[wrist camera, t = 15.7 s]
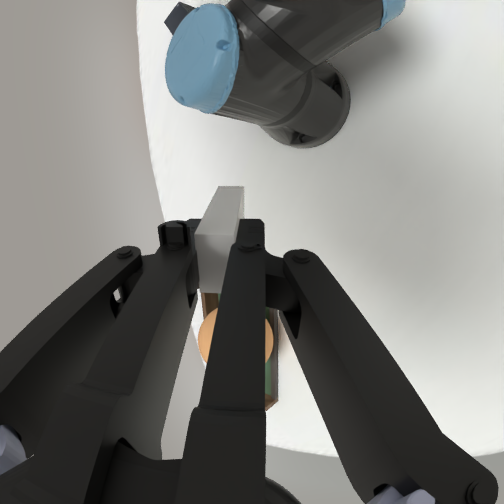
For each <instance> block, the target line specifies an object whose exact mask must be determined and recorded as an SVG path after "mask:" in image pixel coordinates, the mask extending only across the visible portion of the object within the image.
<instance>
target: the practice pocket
mask: <svg viewBox="0 0 504 504" xmlns="http://www.w3.org/2000/svg"><path fill="white" fill-rule="evenodd" d="M197 289H199V284H198V287H197ZM220 295H221V293H201V298H202V308H203V317H204V319H205V318H206V317H207V316H208V315H209V314H210V313H211V312H212V311H213V310H215V309H217V308H218V305H219V300H220ZM266 320H267V321H268V323H269V324H270V327H271V329H272V333H273V348H272V352H271V354H270V357H269V359H268V360H267V362H266V363H265V410H266V411H267V410H268V409H269V408H271V407H272V406H273V405H274V404H275V403H276V402H277V401H278V326H277V309H273V308H269V307H266Z"/></svg>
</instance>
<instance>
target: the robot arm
mask: <svg viewBox="0 0 504 504" xmlns="http://www.w3.org/2000/svg"><path fill="white" fill-rule="evenodd" d="M404 7H405V0H231V1H230V2H229V3H228V4H227V5H225V6H224V5H221V4H212V3H209V4H204V5H201V6H200V7H197V8H195V9H194V10H192V11H191V12H190V13H189V14H188V15H187V16H186V17H185V18H184V19H183V20H182V22H181V23H180V24H179V26H178V28H177V29H176V31H175V33H174V35H173V37H172V39H171V42H170V45H169V48H168V51H167V57H166V63H165V78H166V83H167V87H168V89H169V92H170V93H171V95H172V97H173V98H174V99H175V100H176V101H177V102H178V103H180V104H182V105H184V106H187V107H190V108H194V109H197V110H200V111H201V112H203V113H208V114H209V113H210V114H215V115H219V116H224V117H228V118H233V119H237V120H241V121H246V122H250V123H254V124H258V125H259V126H260V127H261V128H262V129H263V130H264V131H265V132H266V133H268V134H269V135H270V136H271V137H272V138H273V139H275V140H276V141H278V142H280V143H282V144H285V145H288V146H292V147H296V148H310V147H315V146H318V145H320V144H322V143H324V142H326V141H328V140H329V139H331V138H332V137H333V136H334V135H335V134H336V133H337V132H338V131H339V130H340V128H341V127H342V126H343V124H344V122H345V120H346V118H347V115H348V112H349V107H350V93H349V89H348V86H347V83H346V81H345V79H344V78H343V76H342V75H341V74H340V73H339V72H338V71H337V70H336V69H335V68H334V67H333V66H332V65H330V64H329V63H327V62H326V60H327V59H329V58H330V57H332V56H333V55H335V54H336V53H338V52H340V51H341V50H343V49H344V48H346V47H347V46H349V45H351V44H352V43H354V42H355V41H357V40H359V39H360V38H362V37H364V36H365V35H367V34H369V33H371V32H372V31H377V30H380V29H381V27H383V26H384V25H385V23H387V22H389V21H390V20H392V19H393V18H395V17H397V16H398V15H400V13H401V12H402V11H403V9H404ZM158 234H159V240H160V247H159V249H158V250H157V252H156V253H155V254H151V255H145V256H142V255H141V251H140V249H139V248H138V247H135V246H123V247H121V248H119V249H117V250H115V251H113V252H112V253H111V254H109V255H108V256H107V257H106V258H104V259H103V260H102V261H101V262H99V263H98V264H97V265H96V266H94V267H93V268H92V269H91V270H89V271H88V272H87V273H86V274H84V275H83V276H82V277H81V278H80V279H79V280H77V281H76V282H75V283H74V284H73V285H71V286H70V287H69V288H68V289H67V290H66V291H64V292H63V293H62V294H61V295H60V296H59V297H58V298H56V299H55V300H54V301H53V302H52V303H51V304H50V305H49V306H47V307H46V308H45V309H44V310H43V311H42V312H41V313H40V314H39V315H38V316H37V317H35V318H34V319H33V320H32V321H31V322H30V323H29V324H28V325H27V326H26V327H25V328H24V329H23V330H22V331H21V332H20V333H19V334H18V335H17V336H16V337H15V338H14V339H13V340H12V341H11V342H10V343H9V344H8V345H7V346H6V347H5V348H4V349H3V350H2V351H1V352H0V504H301V503H300V502H299V501H298V500H297V499H296V498H295V497H294V496H293V495H292V494H291V493H290V492H289V491H288V490H286V489H285V488H284V487H283V486H281V485H280V484H278V483H276V482H275V481H273V480H271V479H269V478H267V477H265V463H266V458H265V457H266V412H265V337H266V307H269V308H273V309H277V310H279V316H280V318H281V321H282V323H283V325H284V328H285V330H286V333H287V335H288V337H289V340H290V342H291V344H292V347H293V349H294V351H295V354H296V356H297V358H298V361H299V363H300V366H301V368H302V370H303V373H304V375H305V377H306V380H307V382H308V384H309V387H310V389H311V391H312V394H313V396H314V399H315V401H316V403H317V406H318V408H319V410H320V413H321V415H322V417H323V420H324V422H325V425H326V427H327V429H328V432H329V434H330V436H331V439H332V441H333V443H334V446H335V448H336V450H337V453H338V455H339V458H340V460H341V462H342V465H343V467H344V469H345V472H346V474H347V476H348V478H349V480H350V482H351V484H352V486H353V488H354V489H355V491H356V492H357V494H358V495H359V497H360V498H361V500H362V501H363V502H364V503H365V504H495V502H496V500H497V497H498V483H497V480H496V478H495V477H494V475H493V474H492V473H491V472H490V471H489V470H488V469H486V468H485V467H484V466H483V465H481V464H480V463H479V462H478V461H476V460H475V459H474V458H473V457H471V456H470V455H469V454H468V453H466V452H465V451H464V450H463V449H462V448H460V447H459V446H458V445H457V444H455V443H454V442H453V441H452V440H450V439H449V438H448V437H447V436H446V435H444V434H443V433H442V432H441V430H440V429H439V427H438V425H437V424H436V422H435V420H434V419H433V417H432V416H431V414H430V413H429V411H428V409H427V408H426V406H425V405H424V403H423V402H422V400H421V398H420V397H419V395H418V394H417V392H416V391H415V389H414V388H413V386H412V385H411V383H410V382H409V380H408V379H407V377H406V376H405V374H404V373H403V371H402V370H401V368H400V367H399V366H398V364H397V363H396V361H395V360H394V358H393V357H392V355H391V354H390V353H389V351H388V350H387V348H386V347H385V345H384V344H383V343H382V341H381V340H380V338H379V337H378V336H377V334H376V333H375V331H374V330H373V329H372V327H371V326H370V324H369V323H368V322H367V320H366V319H365V318H364V316H363V315H362V313H361V312H360V311H359V309H358V308H357V307H356V305H355V304H354V303H353V301H352V300H351V299H350V297H349V296H348V295H347V293H346V292H345V291H344V289H343V288H342V287H341V285H340V284H339V283H338V281H337V280H336V279H335V278H334V276H333V275H332V274H331V272H330V271H329V270H328V269H327V267H326V266H325V265H324V263H323V262H322V261H321V260H320V258H319V257H318V256H317V255H316V254H315V253H313V252H310V251H308V250H304V249H299V250H296V249H295V250H291V251H288V252H286V253H285V255H284V256H283V258H280V257H276V256H273V255H271V254H269V253H268V252H267V251H266V250H265V234H264V223H263V222H262V221H261V220H260V219H244V187H239V186H219V187H218V189H217V191H216V192H215V194H214V196H213V198H212V200H211V202H210V204H209V206H208V208H207V210H206V212H205V214H204V216H203V218H202V219H189V220H187V221H180V220H175V221H169V222H165V223H163V224H161V225H159V226H158ZM198 284H199V288H200V292H201V293H221V295H220V300H219V305H218V310H217V315H216V320H215V325H214V330H213V335H212V340H211V345H210V350H209V355H208V360H207V365H206V371H205V376H204V381H203V386H202V392H201V397H200V402H199V405H198V407H195V408H194V409H193V411H192V413H191V417H190V421H189V426H188V431H187V436H186V442H185V448H184V452H183V458H182V459H175V460H174V459H173V460H162V451H161V436H162V432H163V428H164V424H165V420H166V415H167V411H168V407H169V403H170V399H171V395H172V391H173V387H174V384H175V379H176V376H177V372H178V368H179V364H180V361H181V357H182V353H183V350H184V346H185V342H186V339H187V335H188V332H189V328H190V325H191V321H192V318H193V314H194V311H195V307H196V304H197V300H198V295H197V287H198ZM117 289H118V290H119V293H120V297H121V298H120V299H119V300H117V301H116V300H115V297H114V294H113V293H114V291H115V290H117ZM33 454H34V456H32V455H33ZM31 456H32V457H31ZM28 458H29V459H28Z"/></svg>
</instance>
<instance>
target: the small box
mask: <svg viewBox="0 0 504 504" xmlns="http://www.w3.org/2000/svg"><path fill="white" fill-rule="evenodd" d="M194 9H195V8H194V7H192V6H189V5H187V4H184V3H181V2H178V4H177V5H176V6H175V8H174V9H173V10H172V12H171V13H170V15H169V16H168V17H167V19H166V20H165V21H164V23H165V24H166V26H167V27H168V29H169V30H170V32H171V33H172V35H174V33H175V31H176V29H177V28H178V26H179V24H180V23H181V22H182V20H183V19H184V18H185V17H186V16H187V15H188V14H189V13H190V12H191V11H192V10H194Z"/></svg>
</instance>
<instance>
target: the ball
mask: <svg viewBox="0 0 504 504" xmlns="http://www.w3.org/2000/svg"><path fill="white" fill-rule="evenodd" d="M217 310H218V308H217V309H215V310H213V311H212V312H211V313H210V314H209V315H208V316H207V317H206V318H205V319H204V321H203V323H202V325H201V327H200V330H199V334H198V345H199V350H200V353H201V355H202V357H203V359H204V361H205V362H206V363H207V360H208V355H209V350H210V345H211V340H212V335H213V330H214V325H215V320H216V315H217ZM272 348H273V333H272V329H271V327H270V324H269V323H268V321H267V320H266V337H265V363H266V362H267V360H268V359H269V357H270V354H271V352H272Z"/></svg>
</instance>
